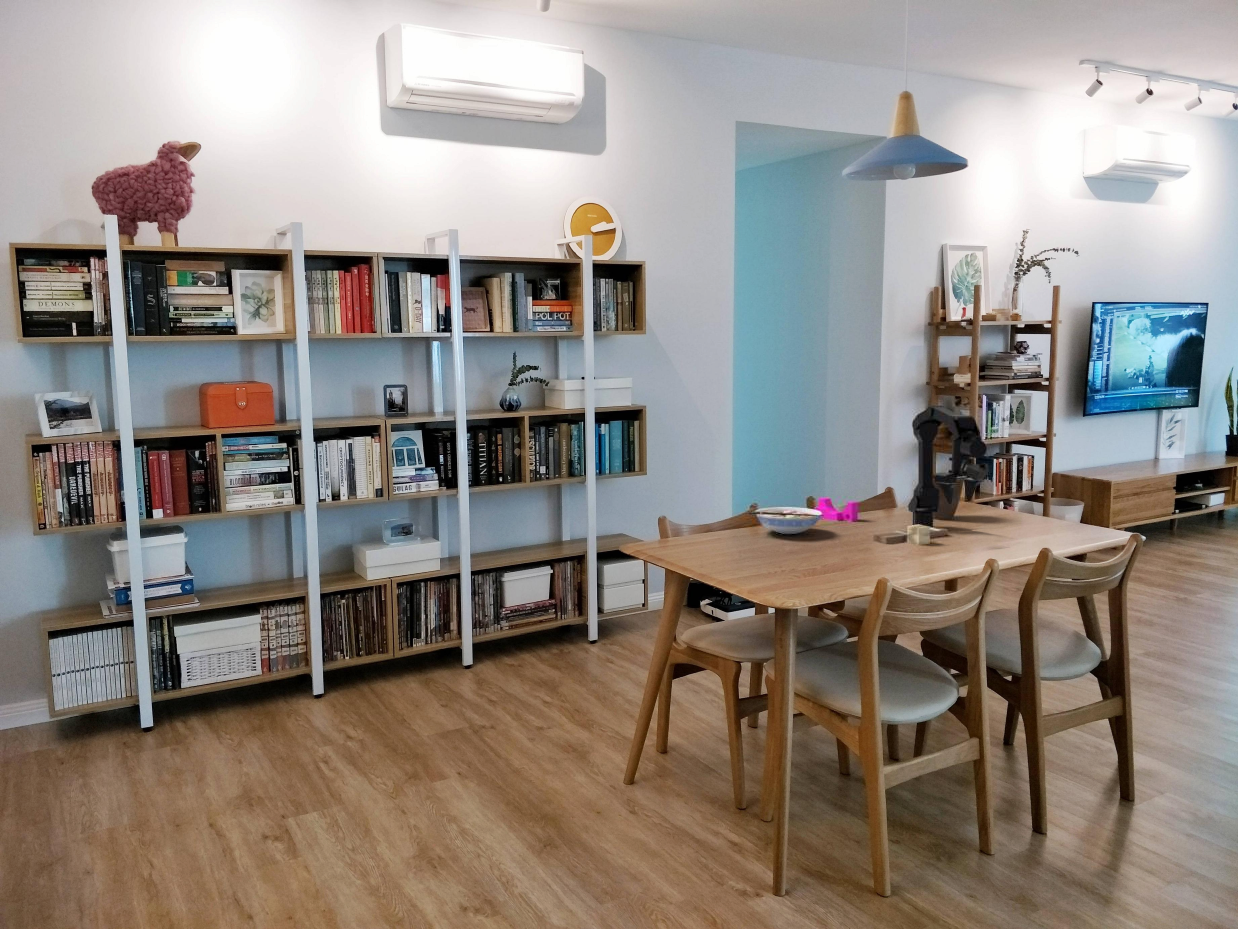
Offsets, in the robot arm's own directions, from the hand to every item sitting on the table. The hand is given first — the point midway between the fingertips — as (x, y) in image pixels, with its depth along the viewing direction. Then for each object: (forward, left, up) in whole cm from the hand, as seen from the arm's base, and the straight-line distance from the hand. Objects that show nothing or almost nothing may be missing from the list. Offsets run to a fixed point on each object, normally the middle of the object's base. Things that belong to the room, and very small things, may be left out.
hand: (959, 502), depth 315 cm
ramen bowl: (-41, -37, -13) cm, 57 cm away
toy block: (-53, -5, -14) cm, 55 cm away
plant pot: (-33, +27, -13) cm, 45 cm away
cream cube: (-6, -12, -13) cm, 19 cm away
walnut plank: (-13, -8, -13) cm, 20 cm away
